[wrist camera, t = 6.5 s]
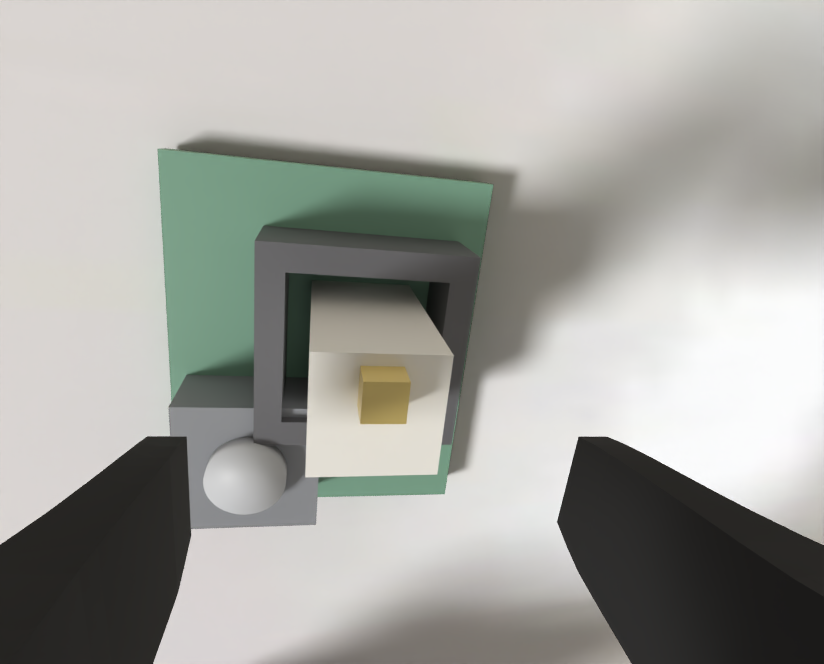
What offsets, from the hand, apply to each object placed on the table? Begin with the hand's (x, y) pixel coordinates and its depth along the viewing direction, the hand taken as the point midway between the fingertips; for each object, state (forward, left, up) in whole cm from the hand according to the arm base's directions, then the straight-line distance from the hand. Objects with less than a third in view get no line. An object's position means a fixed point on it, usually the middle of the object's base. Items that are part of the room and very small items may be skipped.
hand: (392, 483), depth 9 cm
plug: (0, 0, -9) cm, 9 cm away
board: (-1, +1, -9) cm, 10 cm away
